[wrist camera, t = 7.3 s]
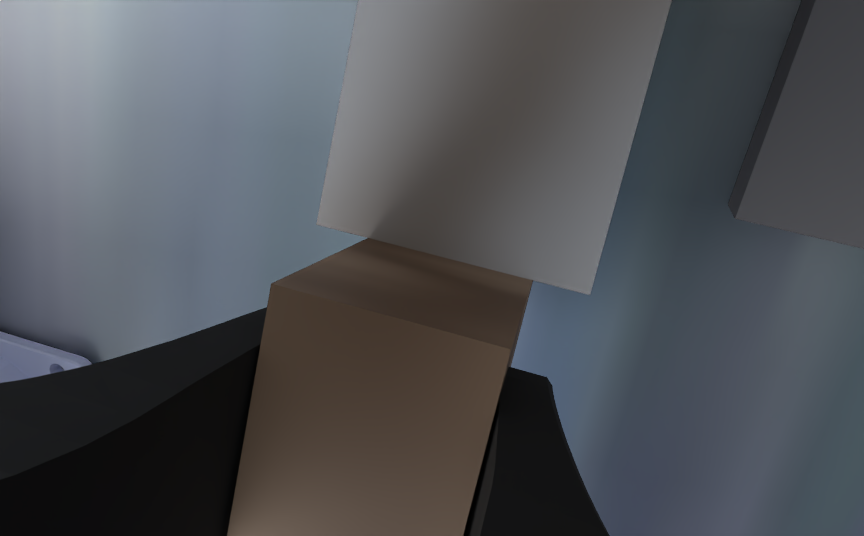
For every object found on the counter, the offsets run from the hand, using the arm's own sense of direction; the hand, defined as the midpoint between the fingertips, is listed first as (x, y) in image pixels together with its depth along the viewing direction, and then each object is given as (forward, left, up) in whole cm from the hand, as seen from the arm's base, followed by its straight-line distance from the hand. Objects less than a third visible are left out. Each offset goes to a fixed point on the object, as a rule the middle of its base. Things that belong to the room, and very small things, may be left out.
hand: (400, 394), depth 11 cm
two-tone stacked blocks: (0, +3, -3) cm, 5 cm away
